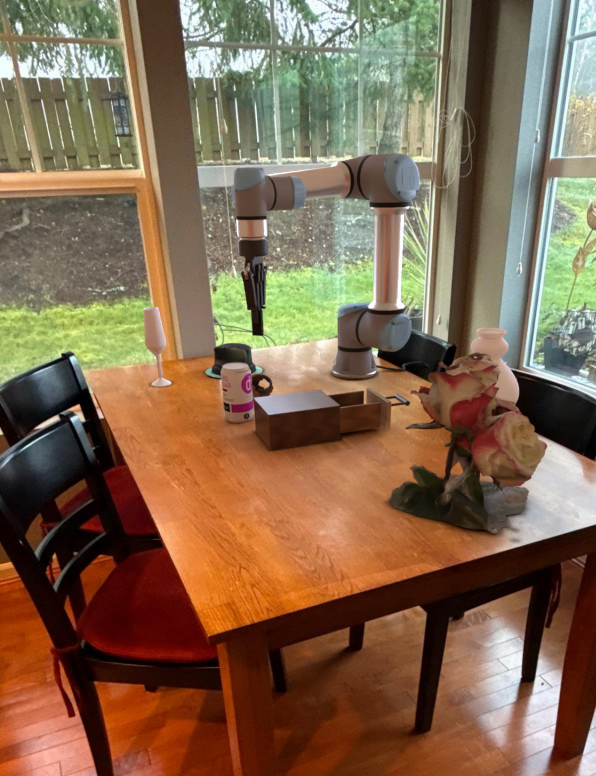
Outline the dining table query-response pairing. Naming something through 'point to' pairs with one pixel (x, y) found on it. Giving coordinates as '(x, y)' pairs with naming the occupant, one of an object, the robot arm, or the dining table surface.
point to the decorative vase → (497, 360)
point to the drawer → (365, 410)
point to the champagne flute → (155, 339)
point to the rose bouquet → (473, 449)
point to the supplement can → (237, 392)
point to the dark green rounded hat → (232, 358)
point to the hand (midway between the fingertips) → (258, 335)
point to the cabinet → (297, 419)
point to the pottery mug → (259, 390)
